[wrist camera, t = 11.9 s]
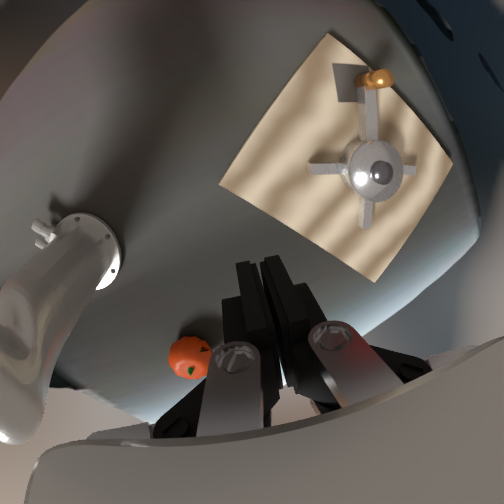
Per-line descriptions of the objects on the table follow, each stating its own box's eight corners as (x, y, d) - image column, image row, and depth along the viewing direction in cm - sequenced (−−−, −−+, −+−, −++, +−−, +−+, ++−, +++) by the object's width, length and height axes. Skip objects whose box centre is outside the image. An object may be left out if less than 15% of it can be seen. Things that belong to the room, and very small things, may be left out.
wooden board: (218, 181, 35) (218, 184, 33) (322, 37, 28) (328, 32, 26) (369, 277, 45) (374, 283, 43) (445, 161, 37) (453, 164, 35)
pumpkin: (182, 363, 48) (180, 393, 41) (163, 334, 44) (157, 365, 38) (219, 354, 48) (221, 385, 41) (202, 323, 44) (202, 354, 38)
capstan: (405, 221, 38) (428, 235, 33) (307, 229, 37) (323, 247, 31) (408, 85, 29) (434, 82, 24) (302, 69, 28) (318, 57, 22)
